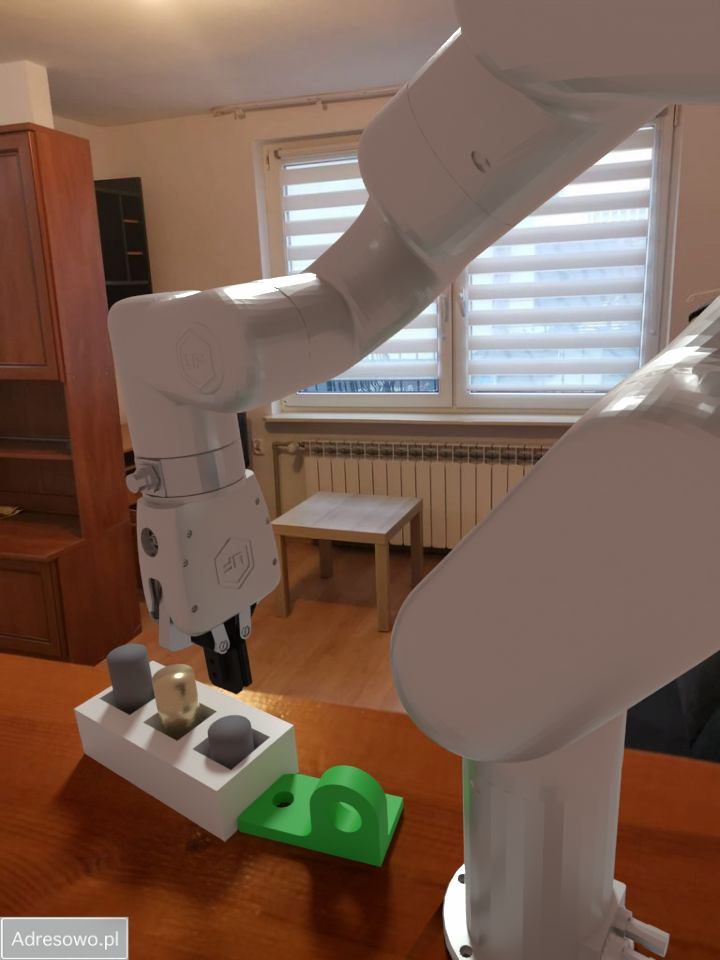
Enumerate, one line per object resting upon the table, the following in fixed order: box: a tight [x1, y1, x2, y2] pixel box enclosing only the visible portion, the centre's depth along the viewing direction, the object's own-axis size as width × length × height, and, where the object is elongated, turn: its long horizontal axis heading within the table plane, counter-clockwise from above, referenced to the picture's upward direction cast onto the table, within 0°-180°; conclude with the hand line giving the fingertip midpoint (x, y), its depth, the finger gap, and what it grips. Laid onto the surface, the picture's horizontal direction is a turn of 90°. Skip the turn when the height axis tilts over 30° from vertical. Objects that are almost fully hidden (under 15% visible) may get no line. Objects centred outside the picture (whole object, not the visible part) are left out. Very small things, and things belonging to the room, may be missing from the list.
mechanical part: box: [238, 765, 404, 868], centre depth 57 cm, size 12×6×8 cm, turn 70°
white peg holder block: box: [73, 660, 300, 842], centre depth 65 cm, size 19×9×6 cm, turn 54°
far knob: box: [106, 643, 155, 715], centre depth 67 cm, size 4×4×6 cm
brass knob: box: [152, 663, 202, 741], centre depth 63 cm, size 4×4×6 cm
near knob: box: [208, 715, 254, 770], centre depth 61 cm, size 4×4×6 cm
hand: (231, 684), depth 57 cm, fingers closed
